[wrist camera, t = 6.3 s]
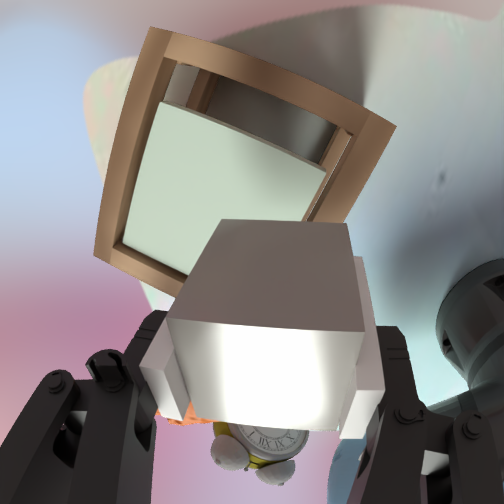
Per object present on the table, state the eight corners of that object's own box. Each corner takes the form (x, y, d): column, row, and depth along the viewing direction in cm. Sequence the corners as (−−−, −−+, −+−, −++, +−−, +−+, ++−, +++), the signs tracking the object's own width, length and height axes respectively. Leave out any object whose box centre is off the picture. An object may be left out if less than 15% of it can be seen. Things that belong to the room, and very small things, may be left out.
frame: (363, 110, 25) (396, 126, 14) (286, 254, 33) (268, 340, 22) (216, 47, 24) (150, 26, 14) (162, 197, 33) (93, 255, 22)
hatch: (329, 170, 17) (329, 174, 17) (257, 301, 23) (254, 310, 22) (164, 99, 17) (156, 100, 16) (126, 238, 22) (119, 245, 21)
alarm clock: (315, 388, 42) (305, 484, 29) (288, 409, 46) (274, 495, 33) (242, 354, 41) (212, 452, 28) (221, 378, 45) (190, 467, 32)
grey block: (335, 319, 15) (336, 431, 10) (231, 313, 16) (196, 417, 11) (346, 223, 12) (365, 332, 7) (221, 218, 13) (165, 317, 8)
